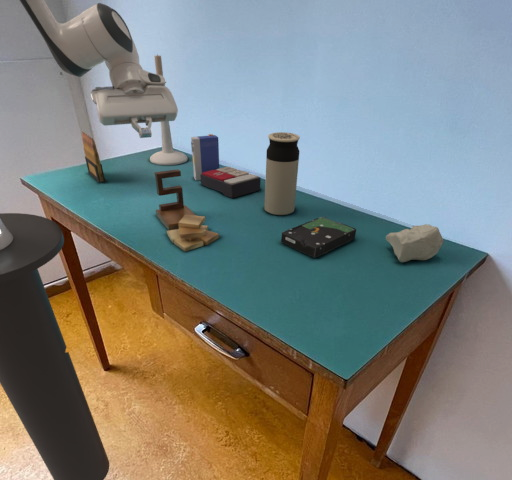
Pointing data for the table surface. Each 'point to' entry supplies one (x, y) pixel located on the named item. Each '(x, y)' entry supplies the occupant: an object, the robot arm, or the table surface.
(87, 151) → the ammunition clip
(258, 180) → the calculator
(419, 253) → the decorative stone
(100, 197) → the table surface
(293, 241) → the disk drive
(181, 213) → the letter S
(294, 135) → the travel mug
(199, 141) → the walkman
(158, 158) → the candlestick
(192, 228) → the tile pile
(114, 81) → the robot arm
